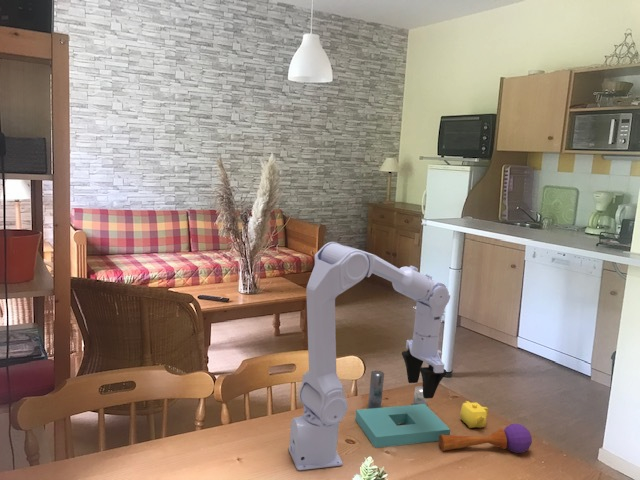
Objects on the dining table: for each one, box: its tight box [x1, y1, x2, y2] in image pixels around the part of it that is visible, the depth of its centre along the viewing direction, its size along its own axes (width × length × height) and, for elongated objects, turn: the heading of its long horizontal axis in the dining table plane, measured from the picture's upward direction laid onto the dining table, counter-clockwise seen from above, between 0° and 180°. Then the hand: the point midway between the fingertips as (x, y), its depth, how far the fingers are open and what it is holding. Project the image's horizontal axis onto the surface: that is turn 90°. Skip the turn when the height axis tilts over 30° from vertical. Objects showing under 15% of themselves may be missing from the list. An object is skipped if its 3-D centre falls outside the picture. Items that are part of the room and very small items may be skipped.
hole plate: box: [354, 404, 451, 449], centre depth 121 cm, size 18×12×2 cm, turn 107°
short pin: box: [412, 385, 428, 406], centre depth 133 cm, size 3×3×4 cm
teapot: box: [459, 400, 489, 429], centre depth 125 cm, size 8×6×5 cm
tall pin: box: [367, 369, 385, 409], centre depth 130 cm, size 3×3×9 cm
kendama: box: [438, 423, 533, 454], centre depth 115 cm, size 6×6×20 cm
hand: (420, 389), depth 119 cm, fingers open, 7 cm apart
